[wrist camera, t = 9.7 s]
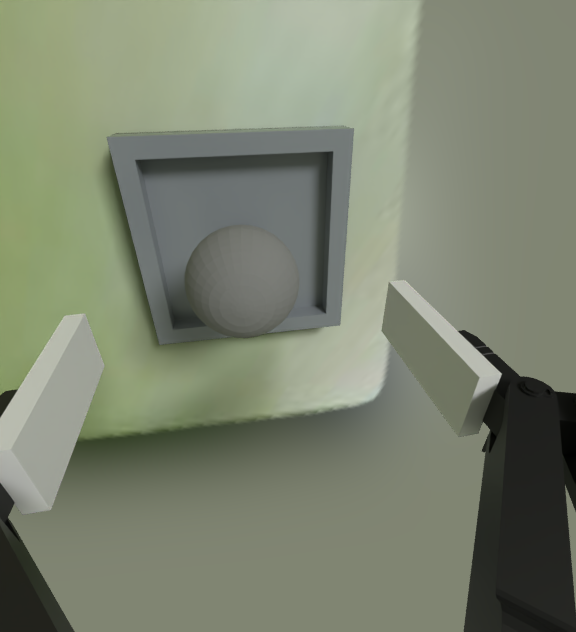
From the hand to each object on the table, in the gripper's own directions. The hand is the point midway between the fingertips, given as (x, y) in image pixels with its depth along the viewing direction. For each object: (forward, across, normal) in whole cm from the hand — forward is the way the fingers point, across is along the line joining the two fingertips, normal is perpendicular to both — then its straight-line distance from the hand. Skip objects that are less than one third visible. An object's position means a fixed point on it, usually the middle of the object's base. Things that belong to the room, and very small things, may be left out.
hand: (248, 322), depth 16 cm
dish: (+12, +1, 0) cm, 12 cm away
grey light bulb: (+11, +1, 0) cm, 11 cm away
